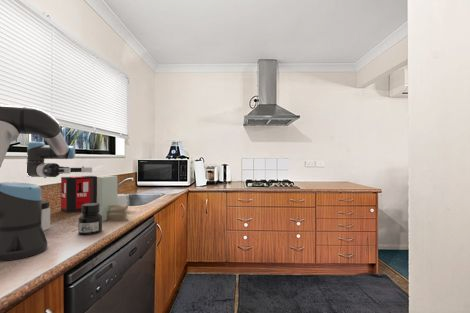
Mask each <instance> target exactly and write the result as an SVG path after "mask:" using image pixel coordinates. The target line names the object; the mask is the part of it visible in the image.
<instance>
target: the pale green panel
mask: <svg viewBox="0 0 470 313" xmlns="http://www.w3.org/2000/svg"><path fill="white" fill-rule="evenodd" d="M117 194H118V175H106V176H97V203H100V212H99V214H100V215H102V222H105V221H107V220H108V219H107V211H110V206H112V205H117Z"/></svg>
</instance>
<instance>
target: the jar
mask: <svg viewBox="0 0 470 313" xmlns="http://www.w3.org/2000/svg"><path fill="white" fill-rule="evenodd" d="M41 226H42V229H43V232H44V231H45V232H46V230H50V228H51V207H50V201H48V200H42V216H41Z"/></svg>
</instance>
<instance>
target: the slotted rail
mask: <svg viewBox="0 0 470 313" xmlns="http://www.w3.org/2000/svg"><path fill="white" fill-rule="evenodd" d="M128 207H129V206H128V205H126V206H121V205H112V206H110V211H107V220H109V221H110V220H112V221H127V220H128V219H129V218H128V217H129V216H128V215H129V214H128V211H129V210H128V209H129V208H128Z"/></svg>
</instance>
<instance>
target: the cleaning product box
mask: <svg viewBox="0 0 470 313" xmlns="http://www.w3.org/2000/svg"><path fill="white" fill-rule="evenodd" d="M97 177H98V176H96V175H78V176H61V179H60V211H61V212H63V211H64V212H63V213H67V214H69V213H74V212H75V213H76V212H80V211H81V209H82V204H87V203H97ZM68 212H69V213H68Z"/></svg>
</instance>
